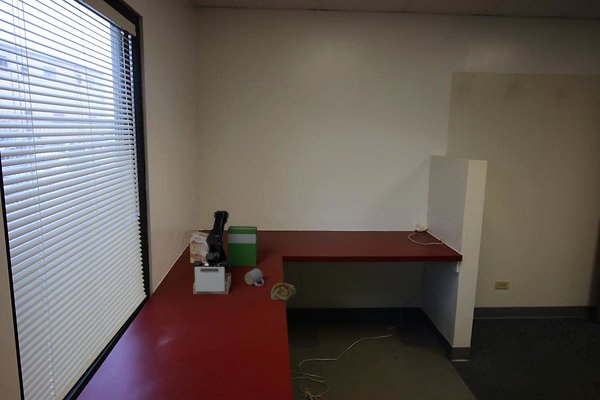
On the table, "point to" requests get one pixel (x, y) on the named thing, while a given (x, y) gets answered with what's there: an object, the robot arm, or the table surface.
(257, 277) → the ceramic mug
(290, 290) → the pastry
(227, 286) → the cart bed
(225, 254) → the robot arm
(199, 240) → the coffeecake box
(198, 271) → the panel
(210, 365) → the table surface
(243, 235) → the hardback book
